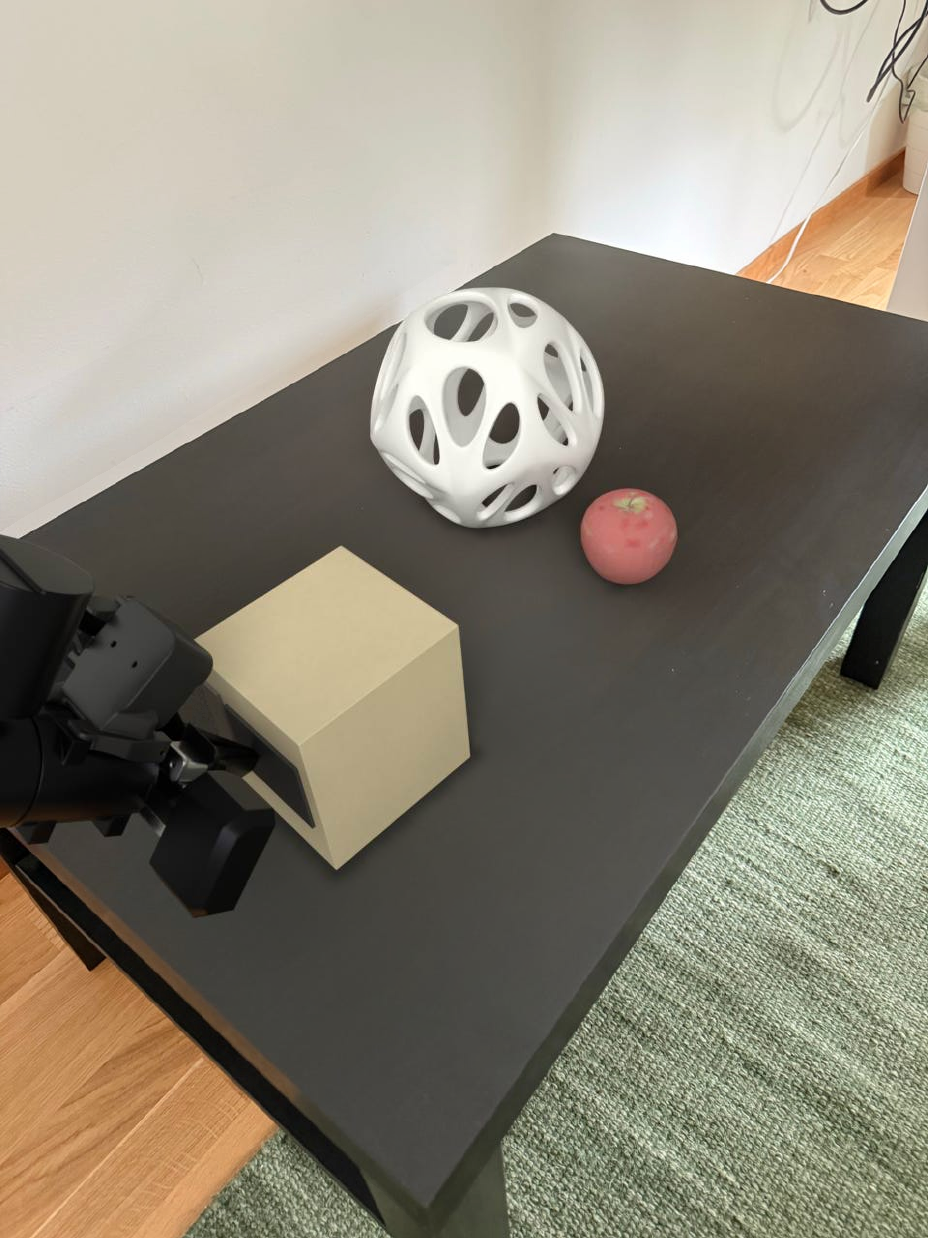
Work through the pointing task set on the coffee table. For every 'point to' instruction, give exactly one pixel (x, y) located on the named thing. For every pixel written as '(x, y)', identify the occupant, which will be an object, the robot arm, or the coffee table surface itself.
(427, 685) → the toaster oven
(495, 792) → the coffee table surface
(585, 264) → the coffee table surface
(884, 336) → the coffee table surface
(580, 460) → the decorative ball
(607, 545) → the apple
